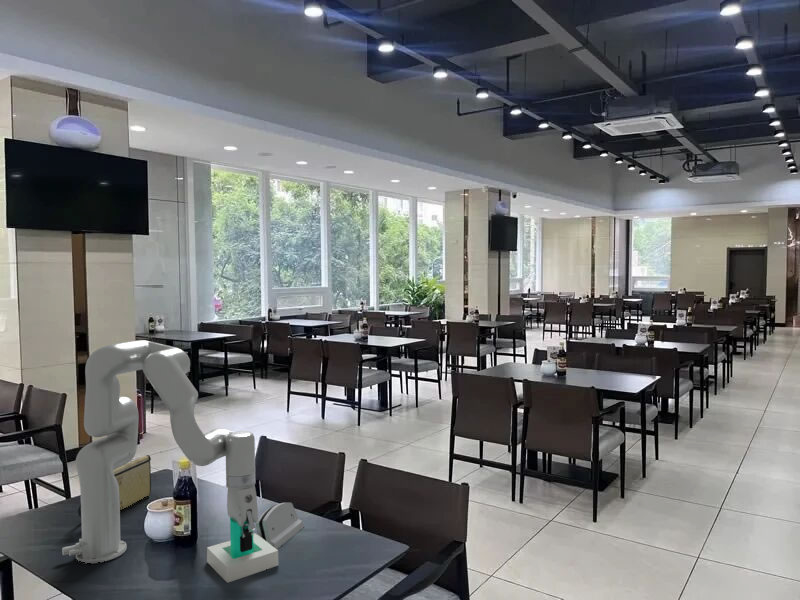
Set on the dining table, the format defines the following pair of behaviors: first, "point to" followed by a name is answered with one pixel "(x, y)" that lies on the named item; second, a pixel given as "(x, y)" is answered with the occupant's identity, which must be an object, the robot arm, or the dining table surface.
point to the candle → (237, 540)
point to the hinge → (279, 524)
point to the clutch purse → (132, 481)
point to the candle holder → (242, 559)
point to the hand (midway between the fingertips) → (241, 545)
